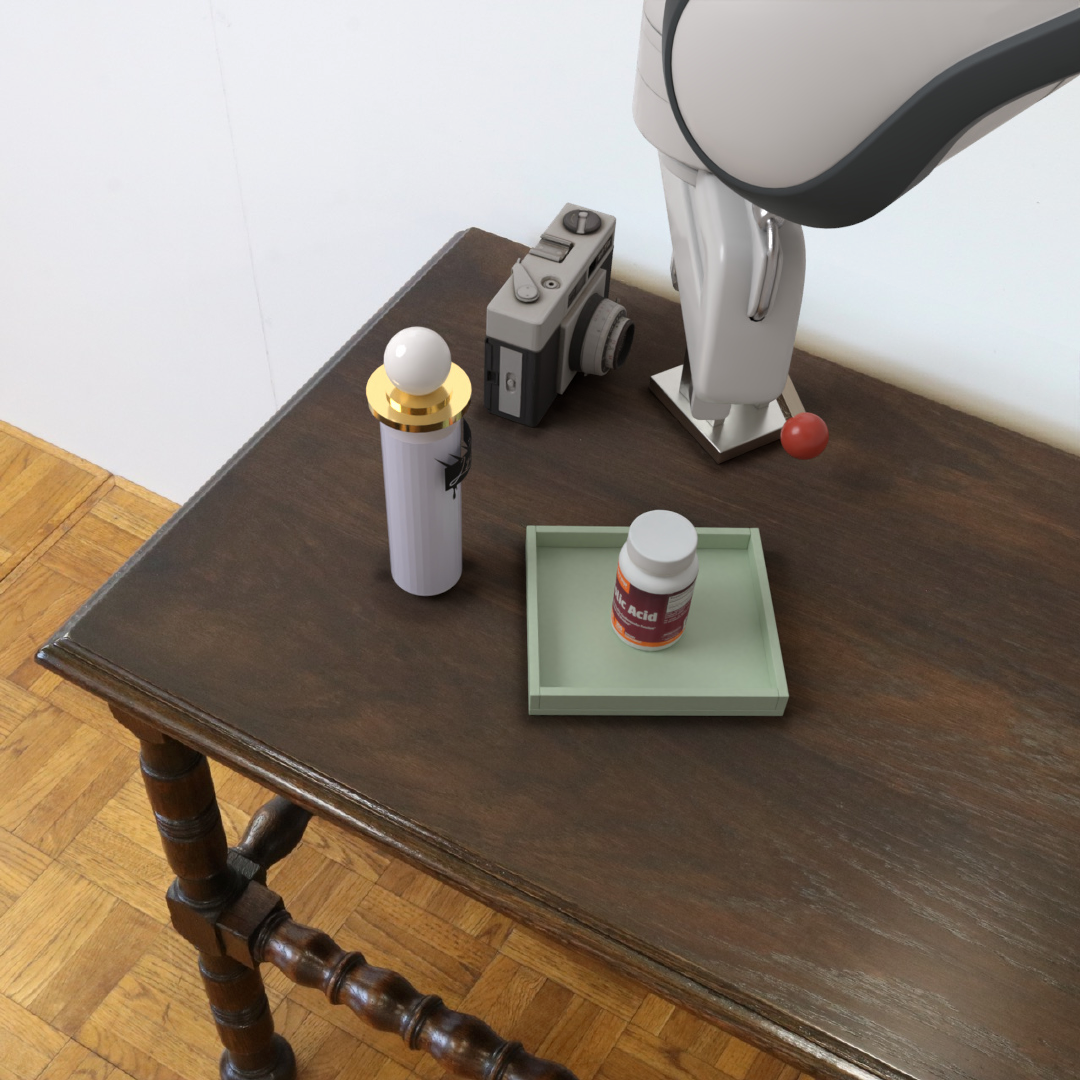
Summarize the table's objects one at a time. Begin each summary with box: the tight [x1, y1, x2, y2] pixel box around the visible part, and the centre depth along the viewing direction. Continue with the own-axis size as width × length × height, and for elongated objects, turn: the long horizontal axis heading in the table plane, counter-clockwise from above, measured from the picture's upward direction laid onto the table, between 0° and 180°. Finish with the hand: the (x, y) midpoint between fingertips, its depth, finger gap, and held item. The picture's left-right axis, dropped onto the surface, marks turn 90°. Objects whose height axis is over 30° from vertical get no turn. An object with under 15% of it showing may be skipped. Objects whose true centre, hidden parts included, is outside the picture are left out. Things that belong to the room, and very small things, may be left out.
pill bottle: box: [611, 509, 699, 651], centre depth 76 cm, size 5×5×8 cm
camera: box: [483, 202, 636, 428], centre depth 91 cm, size 14×8×10 cm, turn 156°
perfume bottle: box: [365, 326, 473, 597], centre depth 74 cm, size 6×6×20 cm
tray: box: [525, 525, 790, 717], centre depth 79 cm, size 15×13×2 cm
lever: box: [776, 373, 830, 461], centre depth 85 cm, size 13×3×3 cm
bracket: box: [648, 344, 786, 464], centre depth 88 cm, size 9×7×12 cm
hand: (696, 343), depth 62 cm, fingers open, 8 cm apart
